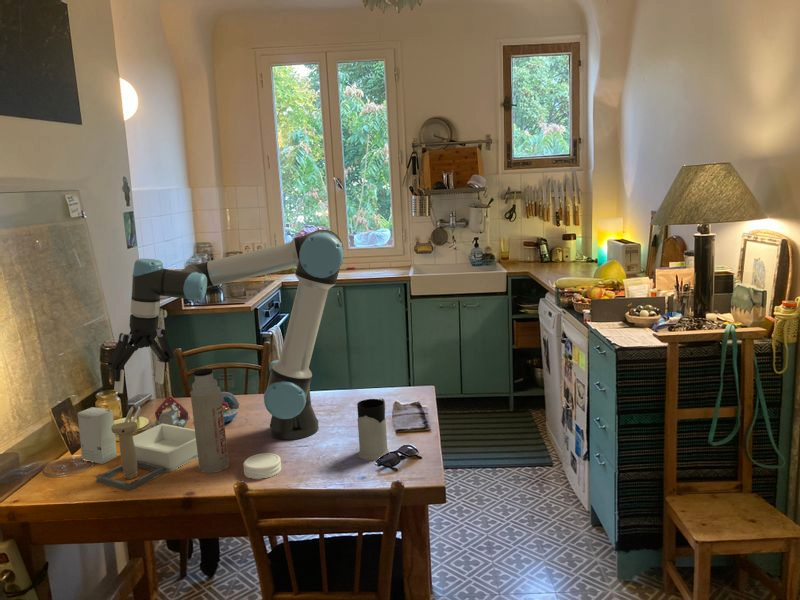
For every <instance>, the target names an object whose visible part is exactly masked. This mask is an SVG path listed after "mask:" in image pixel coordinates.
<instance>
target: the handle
mask: <svg viewBox="0 0 800 600" xmlns="http://www.w3.org/2000/svg"><path fill="white" fill-rule="evenodd" d="M111 429H112V432H113V433H115V435H117V436H118V440H119V442H118V443H120V447H119V453H120V462H121V465H122V468H123V471H122V472H123V473H124V478H125V480H127V479H128V480H132V479H134V478H137V477H138V468H137V456H136V451H135V447H134V442H133V432H135V431H136V430H137V429H138V423H137V422H136V421H123V422H118V423H114V425H113V426H112V427H111Z"/></svg>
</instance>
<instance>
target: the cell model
mask: <svg viewBox="0 0 800 600" xmlns="http://www.w3.org/2000/svg"><path fill="white" fill-rule="evenodd" d="M221 398H222V407H223V416H224V424H226V423H229V422H231V421H232V420H234V419H235V418H236V417H237V415H238V412H239V410H240V405H241V403H240V402H239V400H238V398H237V397H236V395H235V394H233V393H232V392H227V391H221Z"/></svg>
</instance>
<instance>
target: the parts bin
mask: <svg viewBox="0 0 800 600" xmlns="http://www.w3.org/2000/svg"><path fill="white" fill-rule="evenodd" d="M132 437H133V442H134V447H135V451H136V456H137V461H141V462H145V463H150V464H154V465H158V466H163V467H165V472H167V471H169V472H168V473H171V471H172V472H174V471H175V469H176V470H177V469H179V468H181V467H183V466H185V465H187V464H189V463H191V462H192V461H194V460H196V459H198V453H197V444H196V436H195V428H188V427H185V426H184V427H178V426H173V425H168V424H160V425H158V426H155V427H151V428H149V429H147V430H146V429H145V430H144V431H142V432H140V433H138V434H136V435H132ZM118 445H119V446H118V447H119V448H120V442H118ZM190 461H191V462H190ZM188 462H189V463H188ZM186 463H187V464H186ZM184 464H185V465H184ZM182 465H183V466H182ZM180 466H181V467H180ZM178 467H179V468H178ZM173 470H174V471H173Z"/></svg>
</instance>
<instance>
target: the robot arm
mask: <svg viewBox="0 0 800 600" xmlns="http://www.w3.org/2000/svg"><path fill="white" fill-rule="evenodd" d="M344 254H345V253H344V244H343V242H342V239H341V238H340V237H339V235H338V234H336V233H335V232H333V231H332V230H328V229H317V230H314V231H312V232H309V233H307V234H304V235H300V236H297V237H293V238H292V240H291V241H290V242H286V243H282V244H277V245H273V246H270V247H269V246H268V247H264V248H259V249H256V250H251V251H247V252H243V253H239V254H235V255H229V256H226V257H225V256H224V257H222V258H221V257H220V258H216V259H213V260H209V261H204V262H200V263H198V262H195V263H191V264H188V265H187V266H185V267H184V268H183V269H181V270H176V269H167V268H164V263H163V262H162V260H159V259H154V258H139V259H136V260H135V261H134V264H133V270H132V271H133V272H132V283H131V285H132V286H131V298H130V299H131V300H130V313H131V314H130V316H129V329H130V332H129V333H123V332H121V333H119V335H118V341H117V343H116V345H115V348H114V350H113V352H112V353H111V356H110V358H109V360H108V362H107V363H106V367H107V368H109V369H111V370H112V380H113V381H114V386H113V387H114V389H113V390H114V392H116V393H118V394H123V393H124V383H125V382H124V381H125V378H124V377H125V370H124V369H123V368H124V366H125V365H126V364H127V363H128V361H129V360H130V359H131V357H132V356H133V355H134V353H135V352H136V351H138V350H139V349H143V348H149V347H150V349H151V350H152V351H153V352H154V354H155V355H156V357H157V358H158V360H156V362H155V363H156V365H155V374H154V375H155V377H154V382H155V383H157V384H159V385H164V378H165V372H166V371H167V363H169V362H170V361H171V360H170V359H173V357H174V355H173V353H172V352H173V351H172V350H171V347H170V343H169V341H168V337H167V330H166V329H163V328H162V327H159V319H160V318H159V314H160V306H161V297H169V298H177V299H183V300H190V301H192V300H195V301H196V300H197V301H202V300H203V299H204V298H205V296H206V293H207V289H208V288H212V287H215V286H221V285H224V284H229V283H233V282H238V281H243V280H246V279H250V278H255V277H259V276H260V277H261V276H264V275H268V274H272V273H277V272H281V271H287V270H289V269H290V270H291V269H295V268H296V270H295V273H294V274H295V277H296V279H297V281H298V284H297V288H296V292H295V297H294V300H293V303H292V309H291V312H290V316H289V321H288V325H287V329H286V333H285V337H284V340H283V344H282V348H281V353H280V357H279V359H275V360H273V361H271V362H270V363H269V369H268V371H269V379H268V382H267V387H266V390H265V391H264V394H263V402H264V403H263V404H264V407H265V408H266V410H267V411H268V413H269V414H270V415H271V419H270V423H269V434H270V436H271V437H273V438H274V439H278V440H297V439H302V438H306V437H309V436H312V435H314V434H315V433H317V432H318V430H319V420H318V418H317V417H316V414H315V410H314V409H313V407H312V400H311V397H312V396H311V389H310V388H311V387H310V384H311V380H312V376H313V373H312V371H311V370H310V368H309V367H310V364H311V359H312V356H313V353H314V348H315V343H316V340H317V336H318V334H319V329H320V326H321V321H322V318H323V313H324V309H325V305H326V302H327V298H328V293H329V290H330V289H331V288H333V287H334V286H336V284H337V280H338V277H339V273H340V269H341V267H342V265H343V262H344V256H345V255H344ZM156 338H157V340H158V342H157V341H156Z"/></svg>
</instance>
